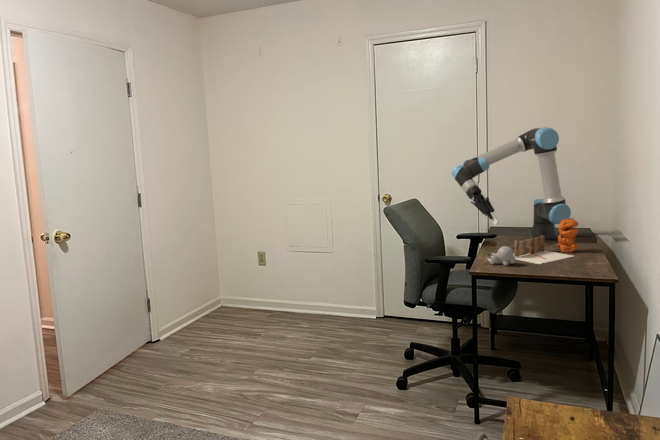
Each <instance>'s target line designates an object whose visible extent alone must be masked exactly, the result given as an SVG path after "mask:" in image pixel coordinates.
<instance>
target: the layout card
mask: <svg viewBox="0 0 660 440" xmlns="http://www.w3.org/2000/svg"><path fill="white" fill-rule="evenodd" d="M514 257H515V256H514ZM574 257H575V255H572V254H568V253H562V252H561V253H560V252H557V251H556V252H555V251H549V250H544V251H537V252H534V254H530V253H529V254H525V255H521V256H519V257H515V259H516V261H522V262H527V263H530V264H536V265H543V263H544V264H548V263H552V262H556V261H557V262H558V261H561V260H565V259H570V258H574Z"/></svg>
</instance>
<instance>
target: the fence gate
mask: <svg viewBox="0 0 660 440" xmlns="http://www.w3.org/2000/svg"><path fill="white" fill-rule="evenodd" d="M513 245H514V250H513V253H514V256H515V257H519V256H521V255H525V254H529V253H531V251H532V239H530V238H528V239H527V238H526V239H522V240H517V239H516V240H514V244H513Z"/></svg>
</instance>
